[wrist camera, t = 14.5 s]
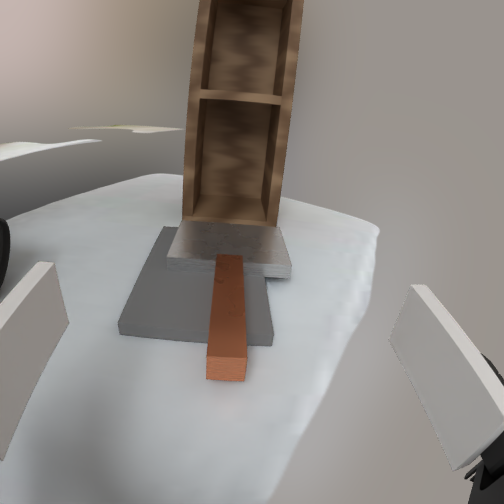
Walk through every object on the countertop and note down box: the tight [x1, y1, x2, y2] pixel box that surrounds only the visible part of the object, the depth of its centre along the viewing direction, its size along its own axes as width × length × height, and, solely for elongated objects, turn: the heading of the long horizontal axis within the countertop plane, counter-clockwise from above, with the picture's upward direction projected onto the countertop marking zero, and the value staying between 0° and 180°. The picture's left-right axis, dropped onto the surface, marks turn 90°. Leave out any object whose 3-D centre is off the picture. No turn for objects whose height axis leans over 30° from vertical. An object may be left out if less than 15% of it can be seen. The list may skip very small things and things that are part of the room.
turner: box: [167, 220, 292, 381], centre depth 24 cm, size 10×19×2 cm, turn 3°
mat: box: [118, 227, 274, 346], centre depth 26 cm, size 10×16×1 cm, turn 3°
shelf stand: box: [182, 0, 304, 227], centre depth 35 cm, size 11×10×30 cm
